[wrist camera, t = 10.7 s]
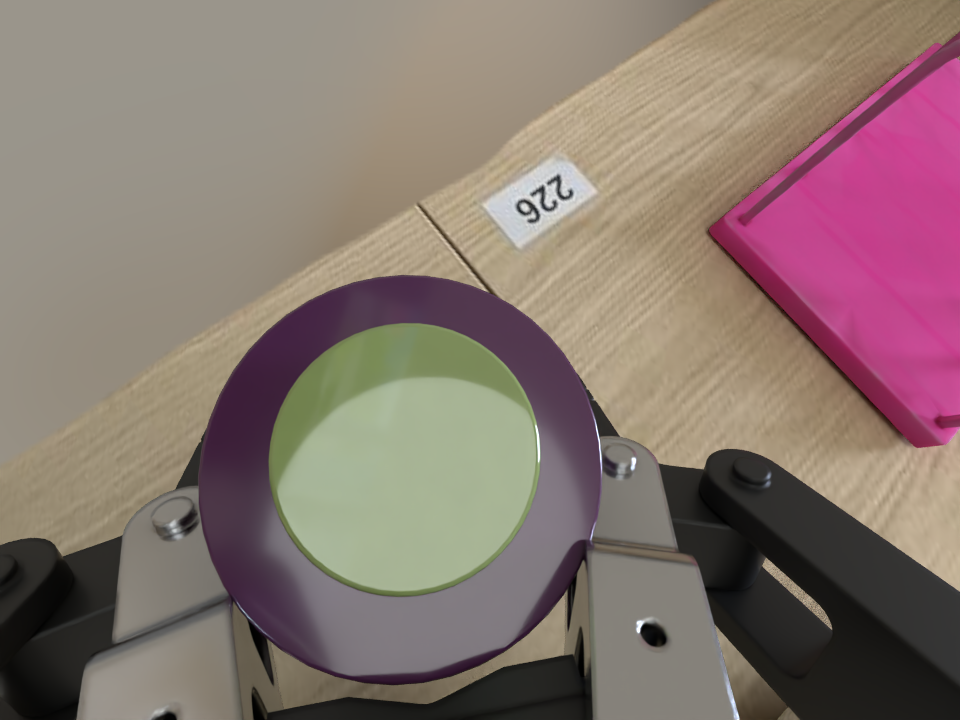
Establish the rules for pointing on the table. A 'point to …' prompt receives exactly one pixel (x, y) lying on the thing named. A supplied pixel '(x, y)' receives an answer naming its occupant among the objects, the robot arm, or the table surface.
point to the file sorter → (873, 245)
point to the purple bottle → (400, 480)
